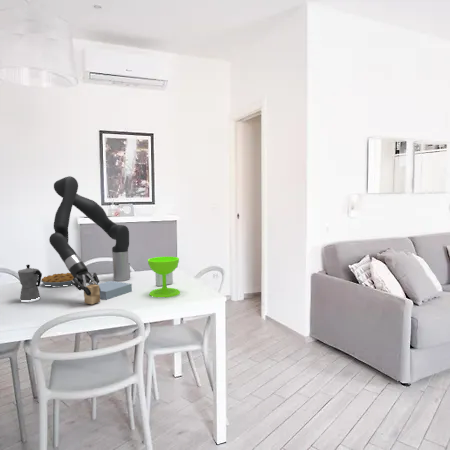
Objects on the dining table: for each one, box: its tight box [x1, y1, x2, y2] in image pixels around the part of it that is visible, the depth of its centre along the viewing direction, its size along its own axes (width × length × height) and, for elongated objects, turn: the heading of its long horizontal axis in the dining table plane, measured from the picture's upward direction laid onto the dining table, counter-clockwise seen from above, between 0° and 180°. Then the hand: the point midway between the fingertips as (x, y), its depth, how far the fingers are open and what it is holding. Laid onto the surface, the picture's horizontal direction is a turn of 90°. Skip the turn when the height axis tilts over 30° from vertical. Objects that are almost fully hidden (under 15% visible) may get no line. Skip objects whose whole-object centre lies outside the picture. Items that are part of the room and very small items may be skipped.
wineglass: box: [147, 256, 181, 298], centre depth 203 cm, size 16×16×18 cm
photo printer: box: [155, 272, 174, 287], centre depth 222 cm, size 10×4×12 cm, turn 134°
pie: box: [40, 272, 74, 286], centre depth 231 cm, size 22×22×5 cm
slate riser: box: [97, 280, 133, 300], centre depth 206 cm, size 18×16×4 cm
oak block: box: [83, 283, 101, 305], centre depth 188 cm, size 5×5×8 cm
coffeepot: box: [17, 264, 43, 300], centre depth 195 cm, size 15×9×18 cm, turn 66°
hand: (94, 293), depth 187 cm, fingers closed on oak block, 5 cm apart
